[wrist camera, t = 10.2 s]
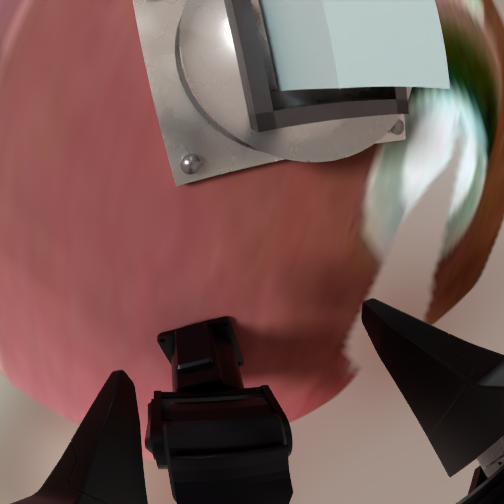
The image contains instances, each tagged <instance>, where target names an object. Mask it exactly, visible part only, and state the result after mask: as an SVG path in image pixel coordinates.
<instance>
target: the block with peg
mask: <svg viewBox="0 0 504 504" xmlns="http://www.w3.org/2000/svg"><path fill="white" fill-rule="evenodd" d="M258 1H259V6H260V10H261V14H262V19H263V23H264V28H265V32H266V37H267V41H268V46H269V51H270V56H271V61H272V66H273V71H274V76H275V81H276V86H277V91H285V90H301V89H327V88H353V87H388V86H395V87H429V88H444V89H450V86H449V76H448V68H447V60H446V53H445V47H444V41H443V35H442V30H441V25H440V21H439V16H438V12H437V8H436V4H435V0H258Z"/></svg>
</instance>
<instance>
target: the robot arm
mask: <svg viewBox="0 0 504 504" xmlns="http://www.w3.org/2000/svg"><path fill="white" fill-rule="evenodd" d="M361 318H362V322H363V325H364V327H365V329H366V331H367V333H368V335H369V337H370V339H371V341H372V343H373V345H374V347H375V349H376V351H377V353H378V355H379V357H380V359H381V360H382V362H383V363H384V365H385V367H386V368H387V370H388V371H389V373H390V375H391V376H392V378H393V380H394V381H395V383H396V384H397V386H398V388H399V389H400V391H401V392H402V394H403V396H404V398H405V399H406V401H407V403H408V404H409V406H410V407H411V409H412V411H413V413H414V415H415V416H416V418H417V420H418V421H419V423H420V425H421V427H422V428H423V430H424V432H425V434H426V435H427V437H428V439H429V441H430V443H431V444H432V446H433V448H434V450H435V452H436V453H437V455H438V457H439V459H440V460H441V463H442V464H443V466H444V468H445V470H446V472H447V474H448V476H449V477H451V476H453V475H454V474H456V473H457V472H459V471H460V470H462V469H463V468H464V467H465V466H467V465H468V464H470V463H471V462H472V461H474V460H475V459H477V460H478V462H479V464H480V466H479V467H477V468H476V469H475V471H474V475H473V478H472V482H471V486H470V489H469V493H468V495H467V496H466V497H464V498H463V499H462V500H460V501H459V502H458V503H456V504H504V355H502V354H499V353H496V352H494V351H491V350H488V349H485V348H482V347H479V346H477V345H474V344H471V343H469V342H467V341H464V340H462V339H460V338H457V337H455V336H453V335H451V334H448V333H447V332H445V331H442V330H440V329H438V328H436V327H434V326H432V325H430V324H428V323H426V322H423V321H421V320H419V319H417V318H415V317H413V316H411V315H408V314H406V313H404V312H402V311H400V310H398V309H396V308H393V307H391V306H389V305H387V304H385V303H383V302H381V301H378V300H376V299H373V298H372V299H369V300H366V301H364V302H363V305H362V316H361ZM225 322H226V323H225ZM222 323H225V324H222ZM162 338H164V339H162ZM157 341H158V343H159V345H160V347H161V348H162V350H163V352H164V354H165V355H166V357H167V359H168V360H169V362H170V364H171V365H172V384H173V392H161V391H154V399H152V400H151V403H149V404H148V425H147V430H146V436H145V447H146V449H147V450H149V451H150V452H151V453H152V454H153V457H154V459H155V460H156V462H157V466H158V469H168V472H169V478H170V484H171V489H172V495H173V498H174V500H175V501H176V502H177V504H289V502H290V499H291V497H292V494H293V489H292V484H291V479H290V473H289V465H288V456H289V455H290V454H291V451H292V433H291V428H290V425H289V422H288V419H287V417H286V415H285V413H284V412H283V410H282V408H281V407H280V405H279V403H278V402H277V400H276V398H275V397H274V395H273V393H272V391H271V390H270V388H269V386H268V385H262V386H260V387H253V388H244V385H243V382H242V378H241V374H240V370H239V367H241V366H242V365H243V364H244V361H243V358H242V355H241V352H240V349H239V346H238V343H237V340H236V337H235V334H234V331H233V328H232V325H231V322H230V320H229V318H227V317H222V318H219V319H215V320H211V321H207V322H204V323H200V324H196V325H192V326H188V327H184V328H180V329H176V330H172V331H168V332H164V333H160V334H159V335H158V336H157ZM11 504H148V502H147V495H146V488H145V479H144V470H143V458H142V446H141V430H140V420H139V413H138V406H137V400H136V392H135V386H134V384H133V382H132V380H131V379H130V378H129V377H128V375H127V374H126V373H125V372H124V371H123V370H117V371H113V372H112V373H111V375H110V376H109V378H108V379H107V381H106V383H105V384H104V386H103V387H102V389H101V391H100V392H99V394H98V396H97V397H96V399H95V401H94V402H93V404H92V406H91V407H90V409H89V411H88V412H87V414H86V416H85V417H84V419H83V421H82V422H81V424H80V426H79V428H78V429H77V431H76V433H75V435H74V436H73V438H72V440H71V442H70V443H69V445H68V447H67V449H66V450H65V452H64V454H63V456H62V457H61V459H60V460H59V462H58V463H57V465H56V466H55V468H54V469H53V471H52V472H51V474H50V475H49V477H48V478H47V480H46V481H45V483H44V484H43V485H42V487H41V488H40V489H39V490H38V492H36V493H35V494H34V495H32V496H30V497H27V498H25V499H22V500H19V501H17V502H14V503H11Z"/></svg>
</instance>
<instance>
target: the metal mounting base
mask: <svg viewBox="0 0 504 504" xmlns="http://www.w3.org/2000/svg"><path fill="white" fill-rule="evenodd" d="M133 5H134V10H135V16H136V21H137V26H138V32H139V37H140V42H141V46H142V51H143V56H144V61H145V65H146V70H147V74H148V79H149V83H150V87H151V92H152V96H153V100H154V104H155V108H156V112H157V116H158V120H159V124H160V128H161V132H162V136H163V140H164V143H165V147H166V151H167V155H168V158H169V162H170V166H171V169H172V173H173V176H174V180H175V183H176V186H179V185H183V184H186V183H190V182H194V181H197V180H201V179H205V178H208V177H212V176H216V175H220V174H224V173H228V172H232V171H236V170H240V169H244V168H248V167H253V166H257V165H261V164H266V163H270V162H275V161H280V160H284V159H288V160H293V161H301V162H326V161H334V160H338V159H342V158H346V157H349V156H352V155H354V154H357V153H359V152H361V151H363V150H365V149H367V148H368V147H370V146H372V145H373V144H376V143H384V142H392V141H400V140H406V135H405V117H404V114H409V112H408V99H409V97H410V93H411V89H412V87H395V86H388V87H353V88H327V89H301V90H285V91H277V86H276V81H275V76H274V71H273V66H272V61H271V56H270V51H269V46H268V41H267V37H266V32H265V28H264V23H263V19H262V14H261V10H260V6H259V1H258V0H133Z"/></svg>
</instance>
